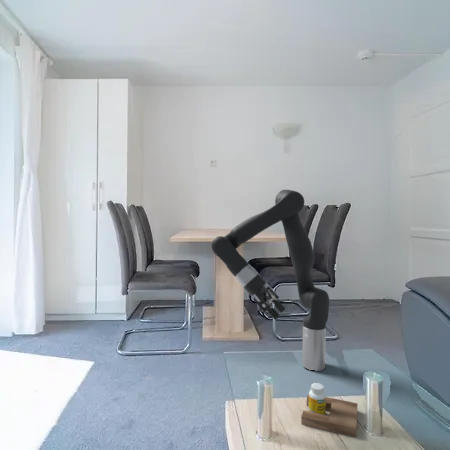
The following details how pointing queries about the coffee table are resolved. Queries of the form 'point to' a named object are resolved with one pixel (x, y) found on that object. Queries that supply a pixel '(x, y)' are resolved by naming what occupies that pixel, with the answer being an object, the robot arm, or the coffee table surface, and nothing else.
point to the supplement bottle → (317, 399)
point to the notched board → (334, 417)
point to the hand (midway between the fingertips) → (280, 314)
